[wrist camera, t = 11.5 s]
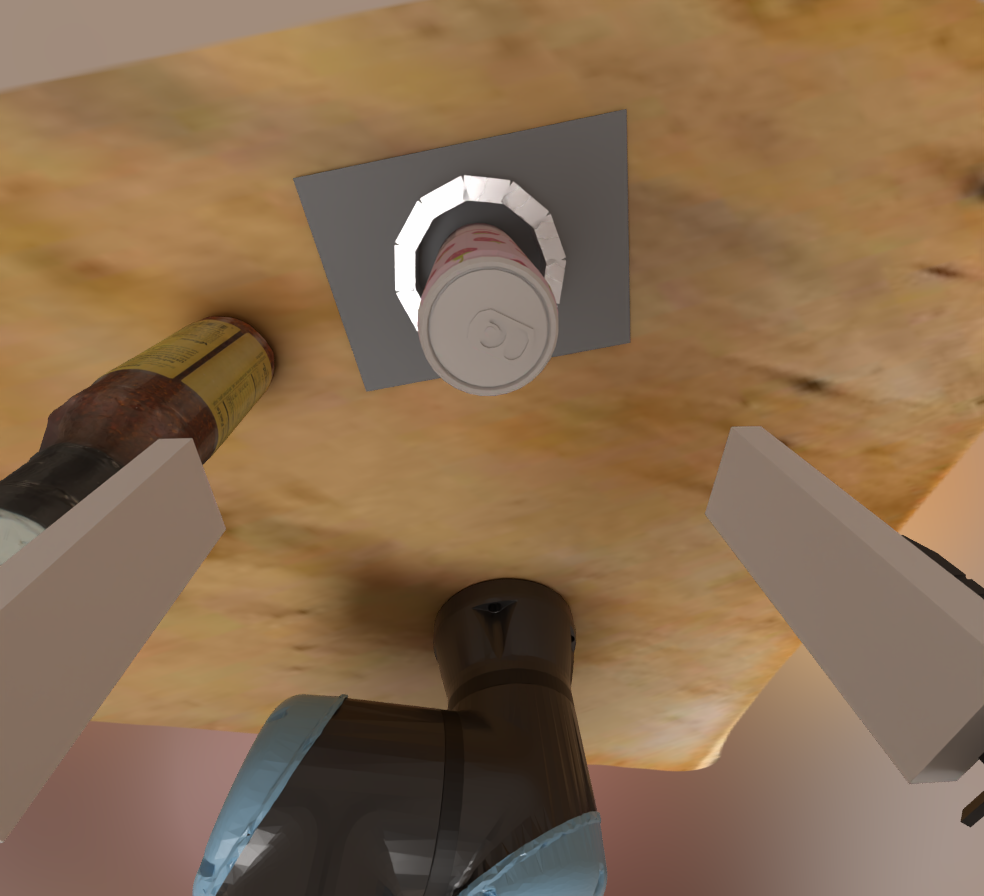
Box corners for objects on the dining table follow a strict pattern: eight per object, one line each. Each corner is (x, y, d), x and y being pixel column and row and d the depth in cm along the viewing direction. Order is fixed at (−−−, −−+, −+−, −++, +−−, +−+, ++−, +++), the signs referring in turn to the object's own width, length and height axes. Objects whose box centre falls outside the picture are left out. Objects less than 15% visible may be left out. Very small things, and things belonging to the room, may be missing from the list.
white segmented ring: (588, 247, 29) (598, 252, 27) (497, 371, 33) (499, 384, 31) (455, 137, 26) (454, 132, 24) (372, 289, 30) (364, 297, 28)
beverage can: (520, 312, 31) (558, 400, 18) (438, 313, 31) (419, 403, 18) (523, 222, 28) (571, 251, 16) (433, 222, 28) (406, 252, 15)
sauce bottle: (173, 359, 32) (-156, 554, 15) (214, 292, 30) (-117, 431, 13) (258, 413, 35) (57, 633, 18) (300, 355, 33) (118, 541, 15)
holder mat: (623, 110, 26) (626, 109, 26) (628, 340, 33) (630, 342, 33) (295, 178, 27) (292, 178, 27) (367, 388, 34) (366, 391, 34)
